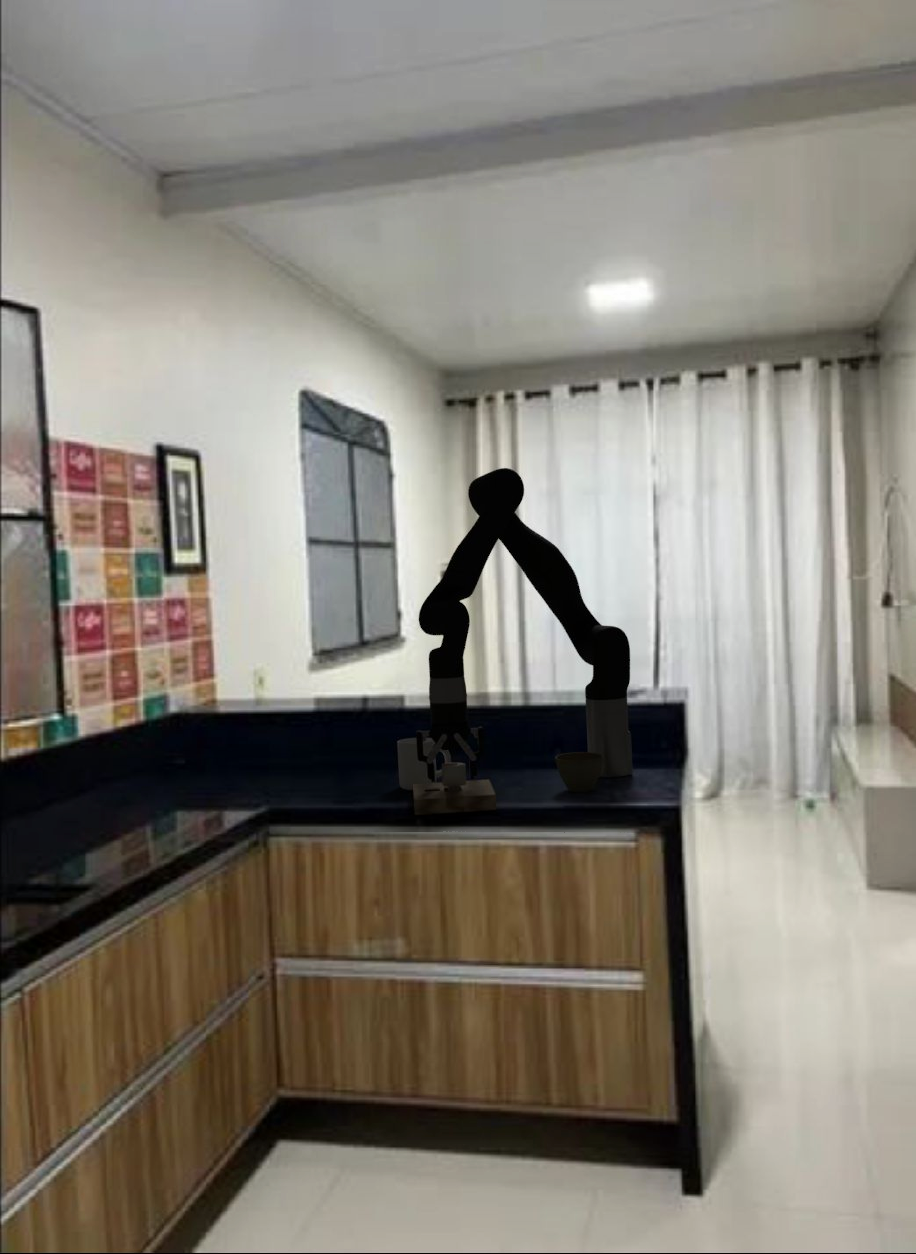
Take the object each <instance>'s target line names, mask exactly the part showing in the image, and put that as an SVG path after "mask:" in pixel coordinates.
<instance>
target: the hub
mask: <svg viewBox="0 0 916 1254" xmlns="http://www.w3.org/2000/svg"><path fill="white" fill-rule="evenodd" d="M412 792H413V808H414V815H415V816H419V815H423V816H424V815H433V814H434V815H436V814H437V815H438V814H450V813H467V812H481V811H482V812H483V811H484V812H486V811H497V795H496V794H497V793H496V792H495V790H494V788H493V785H492V783H491V781H490V779H478V780H477V779H476V780H475V779H472V780H466V785H463V786H461V791H448V786H443V785H442V782H437V783H424V784H413V790H412Z"/></svg>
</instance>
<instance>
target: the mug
mask: <svg viewBox="0 0 916 1254" xmlns="http://www.w3.org/2000/svg"><path fill="white" fill-rule="evenodd" d="M434 744H435V742H434V741H433V740H432V738H431V737H427V738H426V741H424V742H423V754H424V755H427V756H428V754H429V753H430V751H431V749H432V747H433V745H434ZM396 745H397V764H398V765H397V767H398V779H399V780H398V781H399V787H400V788H401V789H402V790H405V791H406V790H408V791H413V784H424V783H438V782H437V779H438V778H440V777H441V778H442V768H440V769H439V770H437V761H436V760H437V758H436V757H437V756H436V757H435V758H434V760H433V762H434V773H435V782H431V779H429V778H428V773H427V763H426V762H423V761H419V760H418V757H417V741H416V737H409V738H408V737H407V738H404V739H403V738H402V739H399V740H398V741H396ZM439 752H441V753H442V754H443V757H444V763H452V757H451V754H450V752H449V750H442V749H440V750H439Z"/></svg>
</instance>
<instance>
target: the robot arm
mask: <svg viewBox="0 0 916 1254" xmlns="http://www.w3.org/2000/svg"><path fill="white" fill-rule="evenodd" d="M467 493H468V500H469V503H470V505H471V507H472V508H473V510H474V512H475V513H476V515H478V518H477V520H476V521H474V523H473V525H472V527H471V528H470V530H469V531H468V532H467V534H465V536H464V537H463V539H462V540H461V541H460V543H458V545H457V547H456V549H455V551H453V552H452V555H451V558H450V559H449V562H448V563H447V565H446V569H445V571H444V573H443V576H442V578H441V580H439V582H438V583H437V584H436V585H435V586H434V588H433V589H432V591H431V592H429V595H427V597H426V598H425V600H424V601H423V602H422V604H421V607H420V609H419V612H418V625H419V627H420V629H421V630H422V631H423V633H425V634H427V635H428V636H429V635H430V636H443V637H442V640H441V645H440V646H438V647H436V648H432V650H430V652H429V655H428V670H429V671H428V672H429V685H428V686H429V687H428V694H429V696H428V699H429V712H430V713H429V714H430V715H429V716H430V728H429V730H419V729H418V730H416V732H415V738H416V741H417V757H418V760H419V761H423V762H426V763H427V773H428V778H429V779H431V782H435V773H434V762H433V760H434V758H435V757H437V755H438V754H439V752H440V751H439V750H440V749H442V750H448V751H449V750H459V749H461V748H462V750H463V752H464V753H465V754H466V755H467V756H468V758H469V760H468V765H469V766H468V767H469V768H468V769H469V779H470V780H475V777H477V775H478V768H477V767H478V766H477V761H478V759H481V758H484V757H485V755H486V747H485V746H486V745H485V742H486V741H485V729H484V727H483V726H480V725H479V726H478V727H470V726H469V716H468V715H469V714H468V693H467V685H466V677H465V664H464V655H465V650H466V645H467V640H468V636H469V630H470V623H471V622H470V614H469V611H468V609H467V607H466V605H465V604H464V602H462V601H463V600H466V599H468V598H470V597H471V596H472V595H473V594H474V592H475V590H476V588H477V586H478V583H479V580H480V578H481V576H482V573H483V571H484V568H485V566H486V564H487V561H488V559H489V557H490V556H491V553H492V551H493V549H494V548H495V545H496V544H497V542H498V541H500V542H501V543H502V545H503V546H504V547H505V549H506V550H507V552H508V553H509V554H510V556H511V557H512V558H513V559H514V561H515V562H516V563H517V564H518V566H519V568H520V569H521V570H522V572H523V573H524V575H525V577H526V578H527V579H528V582H530V584H531V585H532V587H533V588H534V589H535V591H536V592H537V593H538V595H539V596H540V597H541V598H542V600H543V601H544V603H545V604H546V605H547V606H548V609H550V611H551V612H552V613H553V615H554V616H555V618H556V619H557V620H558V622H559V623H560V624H561V626H562V628H563V629H564V632H565V633H566V634H567V637H568V638H569V640H570V643H571V644H572V646H573V647H574V649H575V651H576V653H577V655H578V656H579V657H580V659H581V660H583V661H584V662H585V663H586V664H588V665H590V666H592V679H591V681H590V682H589V683H587V684H586V686H585V689H584V690H585V691H584V693H585V695H584V696H585V714H586V716H585V717H586V737H587V752H591V753H599V754H602V755H603V764H602V769H601V772H600V775H599V778H618V777H625V776H630V775H633V773H634V770H633V752H632V751H633V750H632V747H633V746H632V733H631V731H629V710H628V709H629V708H628V707H629V706H628V688H629V685H630V682H631V649H630V648H631V647H630V641H629V638H628V636H627V634H626V633H625V631H624V630H623V629H621V628H620V627H617V626H614V625H602V624H601V623H600V622H599V621H598V620H597V619H596V618H595V616H594V615H593V613H592V612H591V610H589V608H588V607H587V605H586V603H585V601H584V598H583V596H582V592H581V588H580V583H579V581H578V577H577V575H576V572H575V571H574V569H573V567H572V566H571V564H570V563H569V562H568V560H567V558H566V557H565V555H564V554H563V553H562V552H561V550H560V549H559V548H558V547H557V546H556V545H555V544H554V543H553V542H551V541H550V540H548V539H547V538H545V537H544V536H542V535H541V534H539V533H537V532H536V531H535V530H534V529H531V528H530V527H529V526H528V525H526V524H525V522H523V521H522V520H521V518H520V517H519V516H518V514H517V513H516V511H517V510H518V508H519V507H520V504H521V503H522V501H523V499H524V496H525V484H524V481H523V479H522V477H521V476H520V475H519V474H518V472H517V471H516V470H514V469H511V468H507V467H502V468H497V469H494V470H492V471H489V472H487V473H485V474H483V475H481V476H478V477H476V478H475V479H473V480H472V481H471V482H470V484H469V486H468V492H467ZM471 734H473V737H474V739H477V751H475V752H474V751H473V749H472V748H471V747H470V745H469V744H468V742H467V740H468V738H469V737H470V735H471ZM428 737H429V738H432V740H433V741H434V742H435V744H434V745H433V747H432V749H431V751H430V753H429V754H428V756H427V755H424V754H423V742H424V741H426V738H428Z"/></svg>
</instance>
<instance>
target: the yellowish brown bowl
mask: <svg viewBox="0 0 916 1254" xmlns="http://www.w3.org/2000/svg"><path fill="white" fill-rule="evenodd" d="M554 758H555V763H556V767H557V770H558V773H559V774H558V775H560V778H561V780H562V782H563V784H564V786H565V788H567V790H568V791H569V792H572V793H588V792H591V791H593V790H594V789H595V786H596V784H597V782H598V780H599V778H600V777H599V775H600V772H601V769H602V764H603V755H602V754H599V753H591V752H588V751H587V752H585V751H579V752H578V751H577V752H565V753H561V754H558V755H556V756H555V757H554Z"/></svg>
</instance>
